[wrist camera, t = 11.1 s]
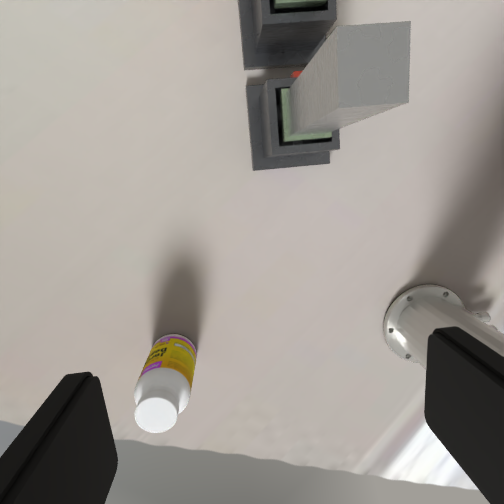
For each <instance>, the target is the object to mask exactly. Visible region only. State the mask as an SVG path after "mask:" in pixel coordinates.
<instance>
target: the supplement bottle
mask: <svg viewBox="0 0 504 504" xmlns="http://www.w3.org/2000/svg"><path fill="white" fill-rule="evenodd" d="M196 356H197V354H196V349H195V346H194V345H193V343H192V342H191V341H190V340H189V339H188V338H186V337H184V336H181V335H177V334H170V335H166V336H163V337H161V338H160V339H158V340H157V341H156V342H155V344H154V345H153V347H152V349H151V351H150V354H149V356H148V358H147V360H146V363H145V365H144V367H143V370H142V372H141V375H140V377H139V379H138V382H137V384H136V387H135V391H134V398H135V402H136V405H137V407H136V409H135V420H136V422H137V424H138V425H139V426H140V427H141V428H142V429H144V430H146V431H148V432H152V433H161V432H164V431H167V430H169V429H170V428H171V427H172V426H173V425H174V424H175V422H176V420H177V417H178V414H179V413H181V412H182V411H183V410H184V409H185V407H186V406H187V404H188V402H189V398H190V393H191V387H192V381H193V375H194V369H195V364H196Z"/></svg>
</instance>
